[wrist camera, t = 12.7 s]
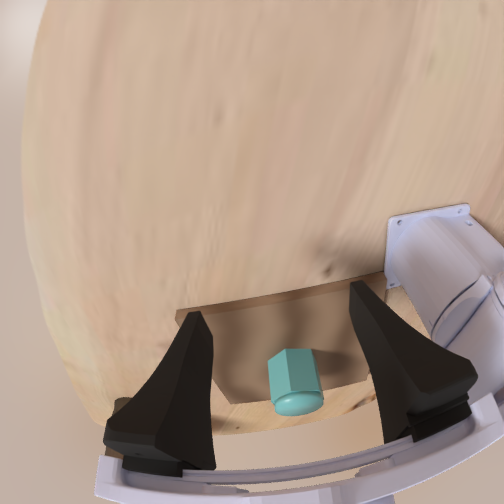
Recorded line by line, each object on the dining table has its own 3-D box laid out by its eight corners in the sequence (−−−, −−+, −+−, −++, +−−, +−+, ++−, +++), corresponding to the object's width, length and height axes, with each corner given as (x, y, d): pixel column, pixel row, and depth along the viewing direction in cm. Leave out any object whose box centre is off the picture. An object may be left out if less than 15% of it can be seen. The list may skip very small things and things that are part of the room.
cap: (307, 341, 28) (317, 391, 23) (318, 366, 31) (327, 409, 26) (263, 354, 29) (266, 403, 24) (279, 377, 32) (284, 420, 27)
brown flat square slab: (382, 271, 24) (387, 279, 23) (364, 373, 36) (366, 380, 35) (176, 310, 26) (174, 319, 25) (230, 397, 38) (230, 404, 37)
